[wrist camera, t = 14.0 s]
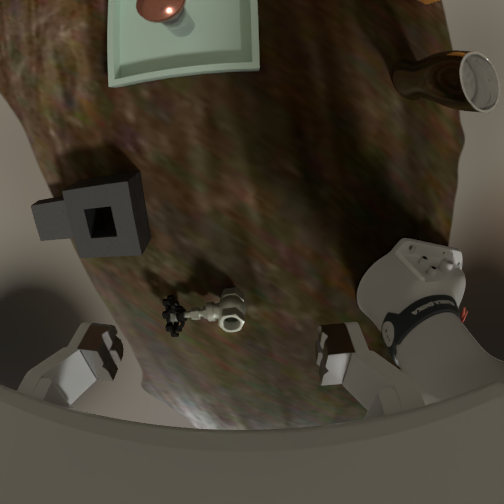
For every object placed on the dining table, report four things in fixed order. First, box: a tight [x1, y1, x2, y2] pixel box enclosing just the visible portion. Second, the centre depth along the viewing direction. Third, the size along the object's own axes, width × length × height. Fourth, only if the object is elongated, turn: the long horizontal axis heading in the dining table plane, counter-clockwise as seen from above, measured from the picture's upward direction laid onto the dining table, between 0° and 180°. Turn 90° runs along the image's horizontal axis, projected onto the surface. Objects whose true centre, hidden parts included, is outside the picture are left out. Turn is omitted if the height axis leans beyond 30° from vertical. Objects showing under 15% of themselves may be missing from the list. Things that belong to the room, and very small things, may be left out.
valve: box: [162, 287, 246, 337], centre depth 44 cm, size 7×7×12 cm
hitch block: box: [31, 171, 151, 258], centre depth 37 cm, size 19×10×5 cm, turn 92°
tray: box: [107, 0, 260, 87], centre depth 26 cm, size 18×14×3 cm
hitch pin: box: [136, 0, 195, 37], centre depth 22 cm, size 4×4×11 cm
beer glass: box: [392, 50, 500, 113], centre depth 24 cm, size 7×7×15 cm
